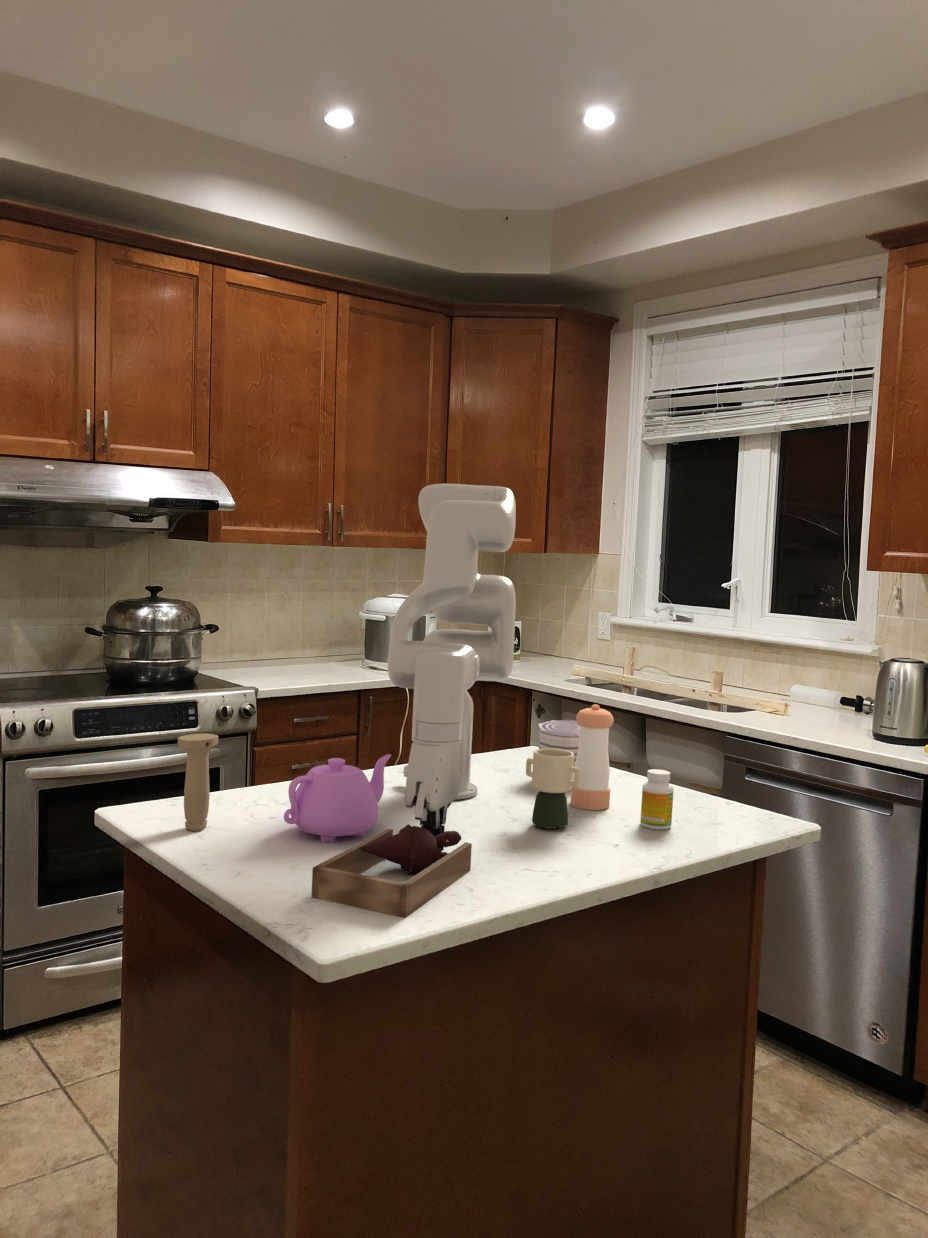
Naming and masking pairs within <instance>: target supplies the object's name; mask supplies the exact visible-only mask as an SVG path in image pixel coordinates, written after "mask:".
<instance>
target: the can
mask: <svg viewBox="0 0 928 1238" xmlns="http://www.w3.org/2000/svg"><path fill="white" fill-rule="evenodd" d="M538 727H539V738H538V749H561V750H567V751H570V752H572V753H574V766H575V761H576V757H577V752H578V747H579V732H580V725H578V723H577V720H574V719H573V720H572V719H571V720H569V719H568V720H564V719H562V720H561V719H560V720H558V719H557V720H555V719H554V720H553V719H552V720H548V721H544V722H541V723H538Z"/></svg>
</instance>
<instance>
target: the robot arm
mask: <svg viewBox="0 0 928 1238" xmlns="http://www.w3.org/2000/svg"><path fill="white" fill-rule="evenodd" d="M417 502H418V509H419V514H420V517H421V521H422V523H423V526H424V528H425V530H426V543H425V556H424V566H423V579H422V582H421V583H420V584H419V586H417V588H415V589H414V590H413V591H411V593H410V594H409V595H408V596H407V597H405V599H404V600H403V602H402V603H401V604H400V606H399V607H398V609H397V611H396V613H395V615H394V617H393V621H392V625H391V629H390V634H389V635H390V637H389V644H388V645H389V646H388V653H387V654H388V655H387V658H388V659H387V673H388V678H389V680H390V681H391V683H392V684H393V685H394V686H396V687H398V688H403V689H413V701H412V702H413V703H412V706H413V707H412V726H411V727H412V728H411V741H412V743H411V747H410V752H409V757H408V763H407V764H405V766H404V768H403V776H404V777H405V778H406V782H405V793H404V805H405V807H406V808H408V809H412V808H414V807H415V809H414V810H415V812H414V820H417V821H419V827H423V828H425V829H427V830H429V831H430V832H431V833H432V834H433V836H434V837H435V836H437V835H439V834H442V833H443V832H445V831H446V829H445V824H446V822H447V815H448V809H449V807H450V806H451V805H452V803H453V801H458V800H465V799H471V798H473V797H474V796H475V797H476V795H477V794H478V786H477V785H475V784H474V783H472V782H471V762H472V760H471V759H472V743H473V725H474V723H473V722H474V701H473V698H472V696H471V695H470V693H469V692H468V690H469V689H471V688H472V687H473V685H474V684H475V682H477V681H483V682H502V681H505V680H506V679H508V678H509V677H510V675H511V673H512V670H513V665H514V655H515V654H514V653H515V630H516V629H515V628H516V611H517V608H516V607H517V604H516V599H517V598H516V589H515V585H514V583H513V582H512V580H511V579H509V578H508V577H507V576H503V575H497V574H479V572H478V562H479V561H478V560H479V552H490V553H491V552H493V553H504V552H507V551H508V550H510V548H511V547H512V545H513V541H514V539H515V533H516V518H517V515H516V511H517V510H516V509H517V507H516V506H517V505H516V504H517V502H516V498H515V495H514V493H513V491H512V490H511V489H510V488H509V487H506V486H500V485H499V486H498V485H482V484H481V485H480V484H479V485H478V484H477V485H476V484H464V483H462V484H461V483H434V484H429V485H426V486H424V487H423V488H422V489H421V490H420V492H419V494H418V501H417ZM431 612H432V614H433V617H434V618H435V619H436V620H437V621H439V622H443V623H448V624H458V625H460V624H461V625H475V626H479V625H480V626H487V627H489V629H490V630H491V631H488V630H472V629H471V630H470V629H459V628H458V629H456V628H455V629H453V628H442V629H440V628H439V629H436V630H432V631H431V632H428V633H427V634H426V636H425V637H424V638H423V640H408V639H409V634H410V630H411V628H412V626H413V625H414V624H415V623H416V622H417V621H418V620H419V619H421V618H422V617H423V616H425V615H427V614H429V613H431ZM444 848H445V847H443V846H441V847H440V846H438V849H439V850H440V851H441V852H444Z"/></svg>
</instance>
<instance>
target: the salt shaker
mask: <svg viewBox="0 0 928 1238" xmlns="http://www.w3.org/2000/svg"><path fill="white" fill-rule="evenodd" d="M575 721H577V723H578V725H580V732H579V747H578V752H577V757H576V761H575V766H574V767H577V768H579V769H580V770H581V779H580V785H579V787H575V786H572V788H571V790H570V805H571V806H572V807H574V808H577V809H580V810H588V811H602V810H606V809H609V808H610V804H611V802H610V801H611V787H610V786H609V785H610V774H611V773H610V772H611V769H610V767H611V766H610V760H609V759H610V758H609V739H610V738H609V736H610V735H609V734H610V733H609V732H610V731H609V730H610V728H612V727H613V724H614V722H615V720H614V716H613V715H612V713H611V712H610V711H608V710H606V709H604V708H601V707H600V705H599V704H596V703H595V704H592V705H591V707H586V708H583V709H580V710H579V712H577V714H576V716H575ZM574 781H575V773H574Z"/></svg>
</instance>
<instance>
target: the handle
mask: <svg viewBox="0 0 928 1238" xmlns="http://www.w3.org/2000/svg"><path fill="white" fill-rule="evenodd" d="M177 745H178V747H180V748H181V749H182V750H185V751H186V767H185V779H184V790H183V791H184V792H183V810H184V812H183V813H184V819H185V820H186V821H184V824H185V825H184V826H185V829H186V831H187V830H189V831H190V832H195V831H196V832H197V831H198V832H201V831H203V830H204V829H206V828H207V824H208V820H207V819H208V815H209V808H210V806H209V805H210V796H211V795H210V773H209V772H210V768H209V766H210V764H209V761H210V760H209V758H210V757H209V755H210V751H211V749H213V748H215V747H217V745H219V735H217V734H213V733H206V732H205V733H193V734H191V733H190V734H186V735H182V736H178V737H177Z"/></svg>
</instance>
